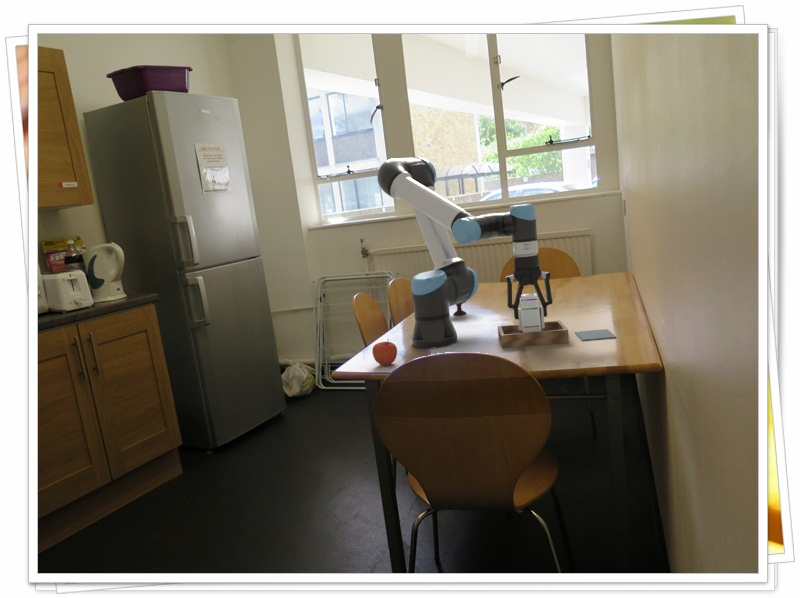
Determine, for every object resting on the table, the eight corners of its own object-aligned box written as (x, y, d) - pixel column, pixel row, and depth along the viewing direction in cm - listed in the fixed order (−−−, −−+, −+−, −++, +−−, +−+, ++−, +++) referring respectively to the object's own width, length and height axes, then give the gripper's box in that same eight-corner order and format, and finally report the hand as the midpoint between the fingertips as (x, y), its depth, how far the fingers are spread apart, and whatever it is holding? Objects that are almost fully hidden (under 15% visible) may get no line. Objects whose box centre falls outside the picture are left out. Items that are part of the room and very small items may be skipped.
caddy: (502, 348, 174) (501, 335, 173) (498, 337, 187) (497, 326, 186) (569, 342, 172) (568, 329, 171) (560, 332, 184) (560, 320, 184)
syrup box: (542, 341, 176) (539, 295, 173) (522, 343, 177) (519, 297, 175) (541, 337, 181) (538, 292, 179) (522, 338, 182) (519, 294, 180)
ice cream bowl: (465, 310, 237) (462, 274, 235) (477, 314, 227) (474, 277, 224) (442, 314, 234) (438, 278, 232) (453, 318, 224) (449, 281, 221)
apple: (376, 362, 174) (372, 337, 173) (399, 360, 173) (396, 335, 172) (372, 369, 167) (369, 343, 166) (397, 367, 166) (394, 341, 165)
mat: (582, 340, 172) (582, 339, 172) (575, 333, 182) (575, 331, 181) (616, 338, 171) (616, 336, 171) (607, 330, 181) (607, 329, 180)
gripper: (495, 259, 172) (501, 333, 176) (560, 252, 170) (565, 328, 174) (493, 256, 179) (499, 328, 183) (555, 250, 177) (560, 322, 181)
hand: (531, 327), depth 178 cm, fingers closed on syrup box, 6 cm apart
